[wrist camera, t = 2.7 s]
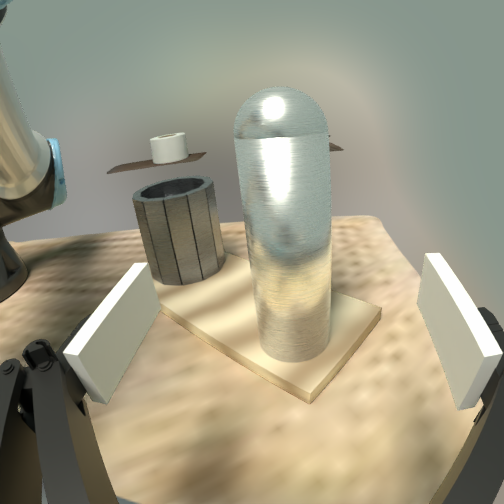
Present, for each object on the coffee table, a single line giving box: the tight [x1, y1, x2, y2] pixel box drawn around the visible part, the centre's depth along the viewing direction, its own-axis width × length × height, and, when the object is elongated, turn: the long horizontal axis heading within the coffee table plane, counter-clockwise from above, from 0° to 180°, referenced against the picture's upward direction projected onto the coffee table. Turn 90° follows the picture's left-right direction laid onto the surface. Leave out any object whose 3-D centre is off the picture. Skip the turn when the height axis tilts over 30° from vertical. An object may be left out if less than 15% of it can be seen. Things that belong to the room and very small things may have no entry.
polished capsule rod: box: [234, 87, 332, 363], centre depth 26 cm, size 9×6×21 cm
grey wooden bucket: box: [132, 176, 225, 286], centre depth 41 cm, size 10×10×11 cm
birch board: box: [149, 252, 382, 404], centre depth 37 cm, size 30×13×2 cm, turn 47°
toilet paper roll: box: [150, 133, 189, 164], centre depth 132 cm, size 16×15×11 cm
